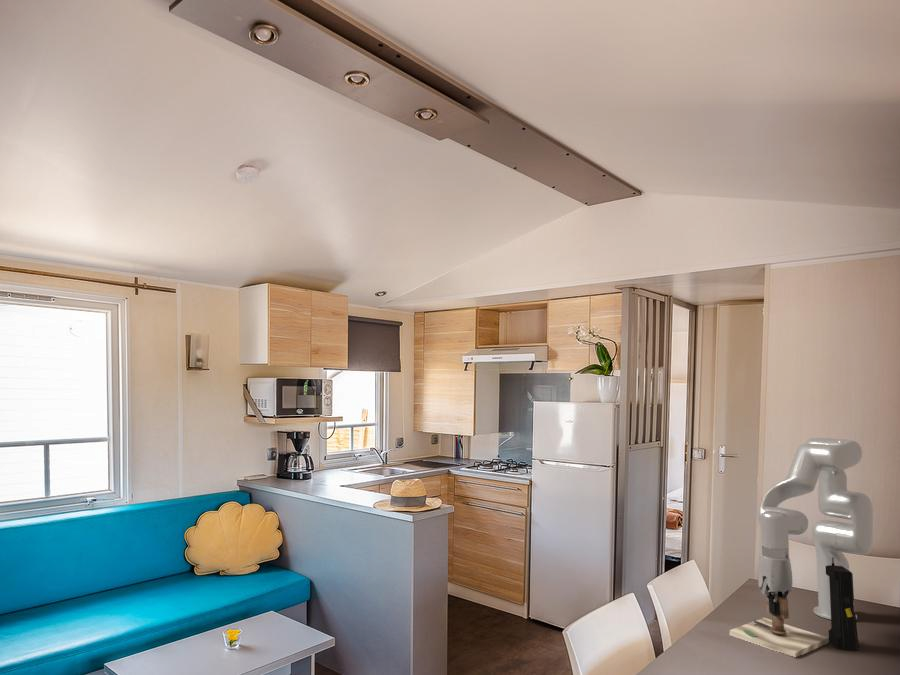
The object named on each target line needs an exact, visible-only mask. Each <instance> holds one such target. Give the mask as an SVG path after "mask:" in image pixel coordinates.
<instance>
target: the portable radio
mask: <svg viewBox="0 0 900 675" xmlns="http://www.w3.org/2000/svg"><path fill="white" fill-rule="evenodd" d="M826 575H828V576H829V583H830V605H831V620H830V627H831V628H830V629H828V638H829V643H830V644H832V645H833V647H835V648H836V649H838V650H844V651H853V652H854V651H858V650H859V649H860V643H859V637H858V636H859V635H858V628H857V620H856V615H857V614H856V612H855V606H854V605H855V602H854V600H855V595H854V593H855V592H854V581H853V580H854V576H853V575H854V574H853V572H852V571H850V569H849V570H847V569H846V568H844V567H843V566H835V565H834V559H832V565H828V566H826ZM853 602H854V603H853Z"/></svg>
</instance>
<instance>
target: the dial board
mask: <svg viewBox="0 0 900 675" xmlns="http://www.w3.org/2000/svg"><path fill="white" fill-rule="evenodd" d="M754 621H758V622H761V623H763V624H766V625H768V626H771V627H772V619H769V618H767V617H762V618H759V619H755V620H753V621H751V622H748V623H745V624H743V625H739V626H737V627H734V628H732V629H729V636H731V637H734V638H737V639H740V640H742V641H746V642H747V643H748V642H749V643H750V642H751V644H753V643H754V645H756V644H757V645H756V646H759V645H760V647H763V648H765V649H767V650H772V651H773V650H774V652H776V651H777V652H776V653H779V652H781V653H780V654H782V653H784V654H783V655H785V654H786V655H785V656H788V655H789V656H788V657H791V656H793V657H792V658H794V657H797V658H798V656H799V657H801V656H803V655H805V653H806V654H807V653H810V652H812V651H814V650H816V649H818V648H821V647H823V646H824V645H828V644H829V643H830V641H829V636H824V635H821V634H818V633H815V632H812V631H808V630H806V629H802V628H798V627H794V626H792V625H789V624H786V623H784V629H785V630H786V634H784V635H778V634H774V633H772V632H771V631H770V629H769V628H766V627H763V626H761V625H758V624H756V623H754ZM800 655H801V656H800Z"/></svg>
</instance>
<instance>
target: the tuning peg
mask: <svg viewBox="0 0 900 675" xmlns="http://www.w3.org/2000/svg"><path fill="white" fill-rule="evenodd" d="M771 594H772V595H773V593H771ZM765 597H766V596H765ZM777 602H779V611H780V615H779V616H777V615H774V614H771V613H770V612H769V600H768V599H767V597H766V614H770V615H771V620H772V627H771V626H768V625H766V624H763V623H761V622H758V621H756V620H753V621H754V623H756V624H758V625H761V626H763V627H766V628H769V629H770V631H771V632H772V633H774V634H778V635H784V634H786V630H785V629H784V624H785V620H787V619H789V616H790V615H789V614H790V613H789V599H788V598H787V599H785V598H782V597H779V596H778V601H777Z"/></svg>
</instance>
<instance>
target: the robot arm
mask: <svg viewBox="0 0 900 675" xmlns="http://www.w3.org/2000/svg"><path fill="white" fill-rule="evenodd" d="M862 457H863V450H862V447H861V445H860V444H859V442H858V441H855V440H852V439H845V438H844V439H842V438H830V437H829V438H828V437H813V438H809V439H807V440H806V441H805V442H804V443H803V444H801V445H799V446H798V447H797V448H796V451H795V453H794V457H793V459H792V462H791V464H790V467H789V470H788V473H787V476H786V477H785V479H783V480H781V481H780V482H778V483H776V484H775V485H774V486H772V488H770V489H769V490H768V491H767V492H766V493H765V494H764V496H763V498H762V501H761V503H760V507H759V509H758V512H757V521H758V523H759V525H760V535H761V536H760V537H761V541H760V542H761V556H760V558H759V564H758V587H759V589H761V591H760V594H762V595H763V596H765V597H767V599H768V600H769V612H770V613H771V614H770V615H772V614H774V615H777V616H779V615H780V611H779V602H777V601H778V596H779V597H782V598H785V599H788V594H789V593H790V592H791V591H792V590H793V571H792V570H793V569H792V564H791V559H790V548H789V547H790V546H789V544H790V542H789V535H791V536H800V535H803V534H804V533H806V532H807V530H808V528H809V520H808V517H807V516H806V515H805V513H803V512H801V511H798V510H794V509H788V508H783V507H778V506H779V505H780V504H781V503H783V502H785V501H787V500H789V499H792V498H796V497H799V496H800V497H801V496H804V495H808V494H811V493H812V492H813V491H814V490H815V488H816V486H817V485H818V486H817V487H818V488H817V489H818V490H817V492H818V493H817V499H818V500H817V506H818V510H819V512H820V513H821V514H822V515H825V516H828V517H832V518H838V519H844V520H850V521H852V523H846V522H842V521H837V520H836V521H835V520H830V519H823V520H822V519H821V520H817V521H815V523H814V524H813V525H812V529H811V535H812V540H813V543H814V547H815V553H816V573H817V574H816V575H817V578H816V579H817V595H818V596H817V599H818V601H817V602H818V605H817V606H815V607H813V613H814V614H815V615H817V616H818V617H821V618H823V619H827V620H830V621H831V605H830V583H829V576H828V575H826V566H828V565H832V559H834V565H835V566H843V567H844V568H846V569H847V570H849V571H850V564H849V561H848V559H847V557H846V555H845V554H844V553H848V554H854V555H859V556H866V555H868V554H869V553H870V552H871V551H872V548H873V538H874V536H873V527H874V526H873V523H874V522H873V520H874V518H873V515H874V512H873V504H872V500H871V499H870V498H869V496H868V495H867V494H865V493H863V492H859V491H853V490H851V491H850V490H848V482H847V481H848V478H847V474H846V472H845V470H847V469H850V468H853V467H855V466H857V465H858V464H859V463H860V461H861V460H862ZM817 481H818V484H817ZM843 552H844V553H843ZM772 594H773V595H772ZM853 603H854V604H855V602H854V601H853ZM857 620H858V615H857V614H856V621H857Z"/></svg>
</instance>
